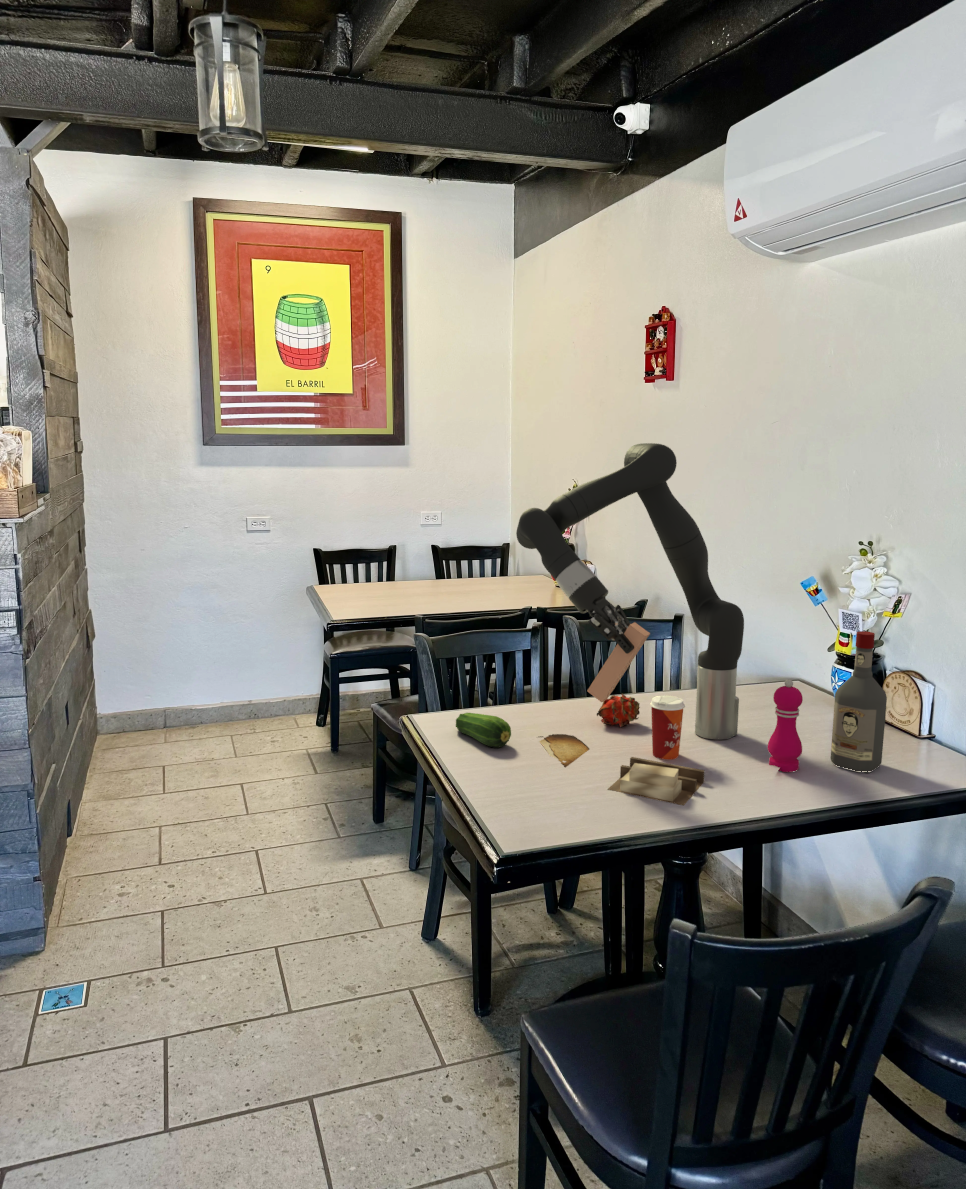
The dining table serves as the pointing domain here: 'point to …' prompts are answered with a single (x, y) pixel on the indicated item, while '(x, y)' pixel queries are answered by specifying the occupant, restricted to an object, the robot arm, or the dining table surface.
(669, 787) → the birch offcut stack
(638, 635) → the terracotta block
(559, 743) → the parchment
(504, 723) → the vegetable
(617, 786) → the walnut rack
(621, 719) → the dragon fruit
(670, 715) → the paper cup
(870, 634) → the liquor
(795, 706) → the pepper mill
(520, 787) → the dining table surface
